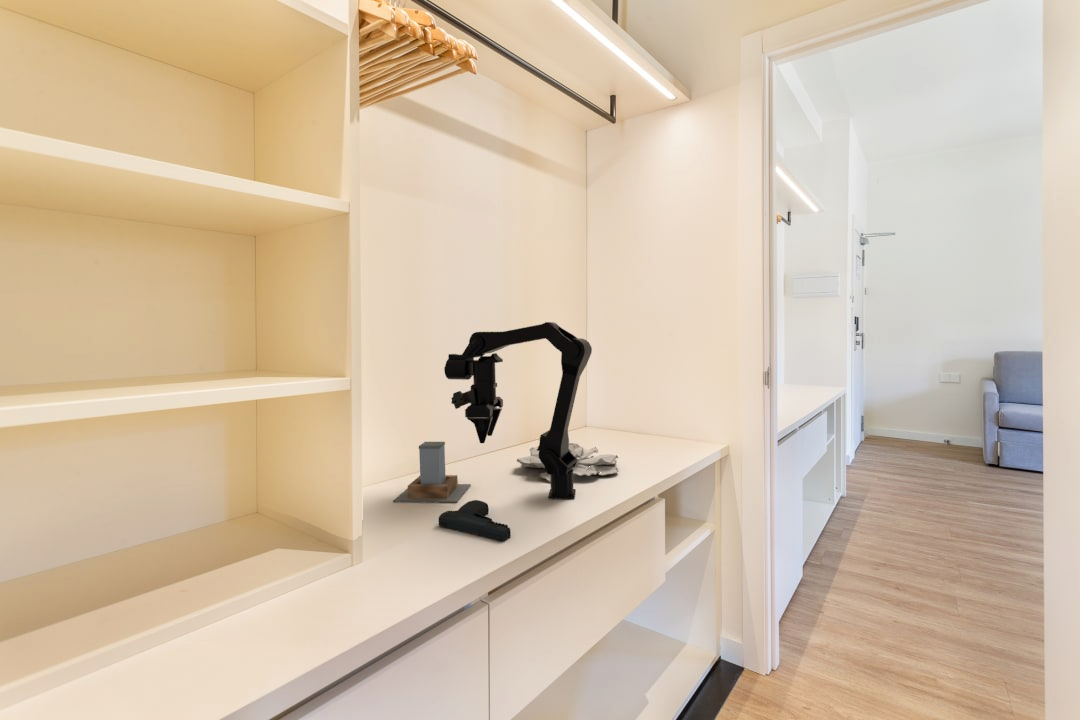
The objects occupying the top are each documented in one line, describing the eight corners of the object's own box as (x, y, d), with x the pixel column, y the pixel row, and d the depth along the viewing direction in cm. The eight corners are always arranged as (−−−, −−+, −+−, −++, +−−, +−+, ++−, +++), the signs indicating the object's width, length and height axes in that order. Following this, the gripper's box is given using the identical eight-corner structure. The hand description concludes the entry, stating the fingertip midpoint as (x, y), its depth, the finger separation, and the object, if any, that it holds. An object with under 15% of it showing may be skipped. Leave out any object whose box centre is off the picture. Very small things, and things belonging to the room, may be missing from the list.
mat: (470, 485, 140) (470, 484, 140) (456, 503, 126) (456, 501, 126) (413, 485, 141) (413, 483, 141) (393, 502, 127) (393, 500, 127)
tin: (446, 489, 136) (444, 441, 135) (440, 495, 131) (438, 446, 130) (427, 488, 136) (425, 441, 136) (420, 495, 131) (418, 446, 130)
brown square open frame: (457, 486, 138) (457, 475, 138) (447, 498, 128) (446, 486, 128) (421, 486, 139) (420, 475, 139) (408, 497, 129) (407, 485, 129)
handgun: (534, 526, 111) (501, 547, 101) (470, 511, 121) (434, 529, 110) (534, 512, 111) (501, 531, 101) (470, 498, 120) (434, 514, 110)
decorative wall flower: (624, 459, 139) (512, 460, 140) (624, 485, 139) (512, 485, 140) (613, 436, 169) (520, 437, 170) (613, 457, 169) (521, 457, 171)
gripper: (463, 377, 146) (465, 432, 146) (443, 384, 127) (445, 447, 128) (502, 376, 144) (504, 432, 145) (488, 383, 126) (490, 447, 127)
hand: (486, 439), depth 136 cm, fingers open, 9 cm apart
